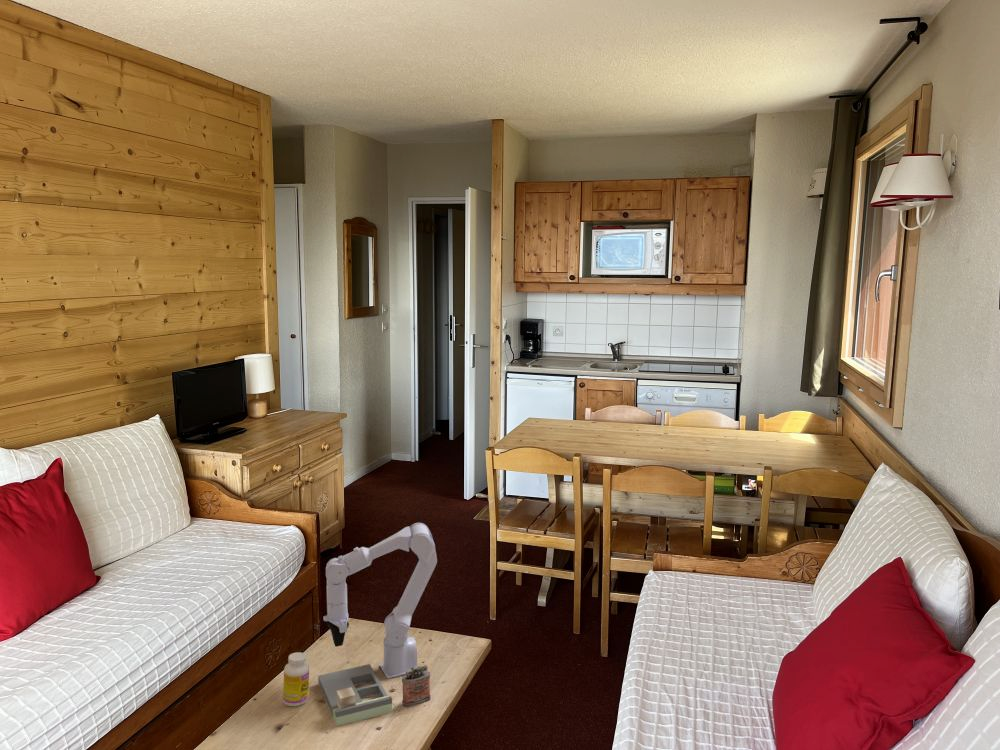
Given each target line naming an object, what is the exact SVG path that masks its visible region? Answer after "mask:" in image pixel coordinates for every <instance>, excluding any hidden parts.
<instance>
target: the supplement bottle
mask: <svg viewBox="0 0 1000 750" xmlns="http://www.w3.org/2000/svg"><path fill="white" fill-rule="evenodd" d="M287 661H288V663H287V664H285V666H284V669H283V688H282V702H283V703H284V704H285V705H286V706H289V707H299V706H302V705H304V704H305V703H306V702H307V701H308V698H309V679H310V666H309V664H308V663H307V662H306V661H307V655H306V654H305V652H300V651H299V652H293V653H290V654H289V655H288V659H287Z"/></svg>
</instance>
